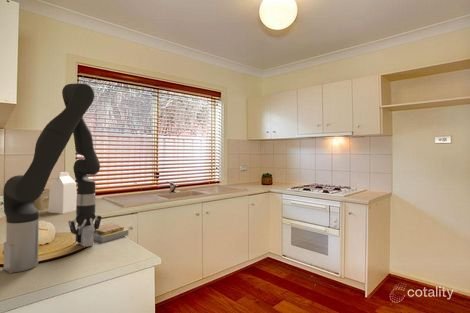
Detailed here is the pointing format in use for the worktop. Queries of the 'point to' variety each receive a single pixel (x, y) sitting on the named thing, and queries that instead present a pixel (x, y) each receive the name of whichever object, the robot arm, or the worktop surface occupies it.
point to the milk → (62, 194)
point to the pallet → (109, 229)
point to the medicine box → (87, 235)
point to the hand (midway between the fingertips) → (85, 240)
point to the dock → (110, 236)
